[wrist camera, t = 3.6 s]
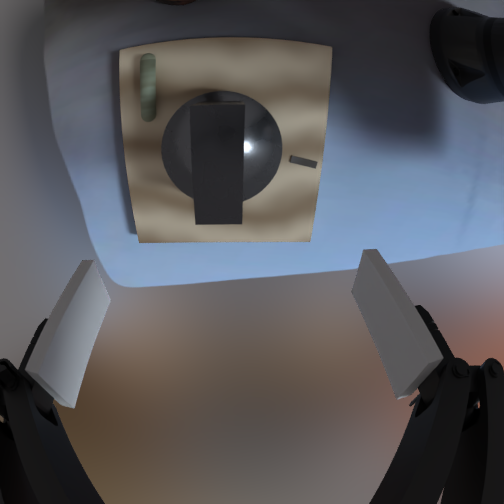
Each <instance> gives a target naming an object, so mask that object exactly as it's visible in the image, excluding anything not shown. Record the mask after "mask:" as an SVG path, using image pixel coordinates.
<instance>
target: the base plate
mask: <svg viewBox="0 0 504 504" xmlns="http://www.w3.org/2000/svg"><path fill="white" fill-rule="evenodd" d="M331 64H332V47H330V46H324V45H318V44H312V43H306V42H298V41H290V40H280V39H268V38H247V37H218V38H197V39H185V40H175V41H167V42H160V43H153V44H147V45H141V46H136V47H131V48H126V49H122V50H120V55H119V80H120V107H121V122H122V135H123V145H124V154H125V163H126V170H127V178H128V185H129V191H130V197H131V203H132V209H133V214H134V220H135V225H136V230H137V235H138V240H139V243H173V242H310V240H311V235H312V229H313V222H314V216H315V210H316V203H317V197H318V190H319V183H320V175H321V168H322V160H323V152H324V143H325V135H326V125H327V115H328V104H329V93H330V79H331ZM214 91H232V92H237V93H241V94H244V95H246V96H249V97H251V98H253V99H254V100H256V101H257V102H259V103H260V104H261V105H263V106H264V107H265V108H266V109H267V110H268V111H269V112H270V114H271V115H272V116H273V118H274V119H275V121H276V123H277V125H278V127H279V130H280V133H281V137H282V158H281V162H280V165H279V168H278V170H277V173H276V174H275V176H274V178H273V179H272V180H271V182H270V183H269V184H268V185H267V186H266V187H265V188H264V189H263V190H262V191H261V192H260V193H258V194H257V195H255V196H254V197H252V198H250V199H248V200H246V201H243V218H242V224H226V225H195V213H194V199H192V198H191V197H189V196H187V195H186V194H184V193H183V192H182V191H180V190H179V189H178V188H177V187H176V186H175V184H174V183H173V182H172V181H171V179H170V178H169V176H168V174H167V172H166V170H165V168H164V164H163V161H162V154H161V144H162V137H163V134H164V130H165V128H166V126H167V123H168V122H169V120H170V119H171V117H172V116H173V114H174V113H175V112H176V111H177V110H178V109H179V108H180V107H181V106H182V105H183V104H185V103H186V102H188V101H189V100H191V99H193V98H195V97H197V96H199V95H202V94H205V93H209V92H214Z"/></svg>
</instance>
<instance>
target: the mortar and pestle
mask: <svg viewBox="0 0 504 504" xmlns="http://www.w3.org/2000/svg"><path fill="white" fill-rule="evenodd" d="M157 1H159V2H162V3H165V4H169V5H185V4H189V3H192V2H194V1H196V0H157Z"/></svg>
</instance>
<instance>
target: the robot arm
mask: <svg viewBox="0 0 504 504" xmlns="http://www.w3.org/2000/svg"><path fill="white" fill-rule="evenodd" d="M430 40H431V47H432V51H433V55H434V58H435V61H436V64H437V66H438V68H439V70H440V72H441V74H442V76H443V78H444V79H445V81H446V82H447V84H448V85H449V86H450V88H451V89H452V90H453V91H454V92H455V93H456V94H457V95H459V96H460V97H461V98H463V99H465V100H468V101H471V102H475V103H479V104H488V103H494V102H502V101H504V18H493V17H488V16H485V15H482V14H480V13H477V12H473V11H470V10H467V9H464V8H458V7H453V8H445V9H442V10H440V11H438V12H437V13H436V14H435V16H434V17H433V20H432V23H431V27H430ZM352 294H353V296H354V298H355V300H356V303H357V305H358V307H359V309H360V311H361V314H362V315H363V318H364V320H365V322H366V325H367V327H368V329H369V332H370V334H371V336H372V338H373V341H374V343H375V346H376V348H377V350H378V353H379V355H380V358H381V360H382V363H383V365H384V367H385V370H386V373H387V375H388V378H389V380H390V383H391V386H392V389H393V391H394V394H395V397H396V399H400V398H403V397H406V396H409V395H411V394H412V393H413V392H414V391H415V390H416V389H417V388H418V390H419V392H420V394H419V395H418V396H417V397H416V398H415V399H414V400H413V401H412V402H411V403H410V405H409V406H412V405H413V404H414V403H415V406H414V409H413V411H412V414H411V417H410V420H409V423H408V425H407V428H406V430H405V433H404V436H403V438H402V440H401V443H400V445H399V447H398V449H397V452H396V454H395V456H394V458H393V460H392V462H391V464H390V467H389V469H388V471H387V473H386V474H385V477H384V478H383V480H382V482H381V484H380V486H379V488H378V489H377V491H376V493H375V495H374V496H373V498H372V500H371V502H370V503H369V504H437V502H438V500H439V497H440V495H441V493H442V490H443V488H444V490H443V495H442V499H441V504H504V370H503V367H502V365H501V364H500V363H499V362H498V361H497V360H496V359H494V358H489V359H487V360H486V361H485V362H484V363H483V364H482V365H481V366H469V365H468V364H467V363H466V361H464V360H462V359H461V358H455V357H454V355H453V354H452V352H451V350H450V348H449V346H448V345H447V343H446V341H445V339H444V338H443V336H442V334H441V333H440V331H439V330H438V327H437V325H436V324H435V323H434V320H433V319H432V317H431V316H430V314H429V312H428V311H426V310H425V309H424V308H423V307H422V306H421V305H417V306H414V305H413V303H412V301H411V300H410V298H409V296H408V295H407V293H406V292H405V290H404V289H403V287H402V286H401V284H400V283H399V281H398V279H397V278H396V276H395V275H394V274H393V272H392V271H391V269H390V268H389V266H388V265H387V263H386V262H385V260H384V259H383V257H382V256H381V255H380V253H379V252H378V250H377V249H367V250H363V253H362V257H361V261H360V264H359V268H358V271H357V275H356V278H355V282H354V285H353V288H352ZM110 301H111V300H110V297H109V296H108V293H107V291H106V288H105V286H104V283H103V281H102V279H101V276H100V273H99V271H98V268H97V266H96V263H95V261H94V260H82V262H81V263H80V265H79V266H78V268H77V270H76V271H75V273H74V274H73V276H72V278H71V279H70V281H69V283H68V284H67V286H66V288H65V289H64V291H63V293H62V295H61V296H60V298H59V300H58V302H57V304H56V306H55V307H54V309H53V311H52V313H51V315H50V317H49V318H48V319H44V321H43V322H42V323H41V324H40V325H39V326H38V328H37V330H36V332H35V334H34V337H33V338H32V340H31V344H30V345H29V346H28V349H27V351H26V353H25V355H24V358H23V360H22V362H21V365H20V367H19V369H18V370H17V369H16V368H15V367H14V365H13V364H12V363H11V362H10V361H9V360H8V359H4V358H3V359H0V415H1V416H2V417H3V418H4V421H3V423H2V422H1V421H0V504H105V503H104V502H103V500H102V499H101V497H100V496H99V494H98V492H97V491H96V489H95V488H94V486H93V484H92V483H91V481H90V479H89V478H88V476H87V474H86V472H85V471H84V469H83V467H82V465H81V463H80V461H79V459H78V457H77V455H76V453H75V451H74V449H73V447H72V445H71V443H70V441H69V439H68V436H67V434H66V432H65V429H64V427H63V425H62V422H61V420H60V417H59V415H58V412H57V409H56V407H55V406H54V404H53V400H54V399H55V400H56V401H57V402H58V403H60V404H61V405H64V406H67V407H71V408H74V407H75V404H76V400H77V396H78V393H79V389H80V386H81V382H82V379H83V376H84V372H85V369H86V366H87V363H88V360H89V357H90V354H91V351H92V348H93V345H94V343H95V340H96V337H97V334H98V331H99V329H100V326H101V324H102V321H103V319H104V316H105V313H106V311H107V308H108V306H109V304H110ZM479 401H480V408H478V402H479Z"/></svg>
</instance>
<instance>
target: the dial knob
mask: <svg viewBox="0 0 504 504" xmlns="http://www.w3.org/2000/svg"><path fill="white" fill-rule="evenodd" d="M161 154H162V161H163V164H164V168H165V170H166V172H167V174H168V176H169V178H170V179H171V181H172V182H173V183H174V184H175V186H176V187H177V188H178V189H179V190H180V191H182V192H183V193H184V194H186V195H187V196H189V197H191V198H192V199H194V213H195V225H226V224H242V218H243V201H246V200H248V199H250V198H252V197H254V196H255V195H257V194H258V193H260V192H261V191H262V190H263V189H264V188H265V187H266V186H267V185H268V184H269V183H270V182H271V180H272V179H273V178H274V176H275V174H276V173H277V170H278V168H279V165H280V162H281V158H282V137H281V133H280V130H279V127H278V125H277V123H276V121H275V119H274V118H273V116H272V115H271V114H270V112H269V111H268V110H267V109H266V108H265V107H264V106H263V105H261V104H260V103H259V102H257V101H256V100H254V99H253V98H251V97H249V96H246V95H244V94H241V93H237V92H232V91H214V92H209V93H205V94H202V95H199V96H197V97H195V98H193V99H191V100H189V101H188V102H186V103H185V104H183V105H182V106H181V107H180V108H179V109H178V110H177V111H176V112H175V113H174V114H173V116H172V117H171V119H170V120H169V122H168V123H167V126H166V128H165V130H164V134H163V137H162V144H161Z"/></svg>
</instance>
